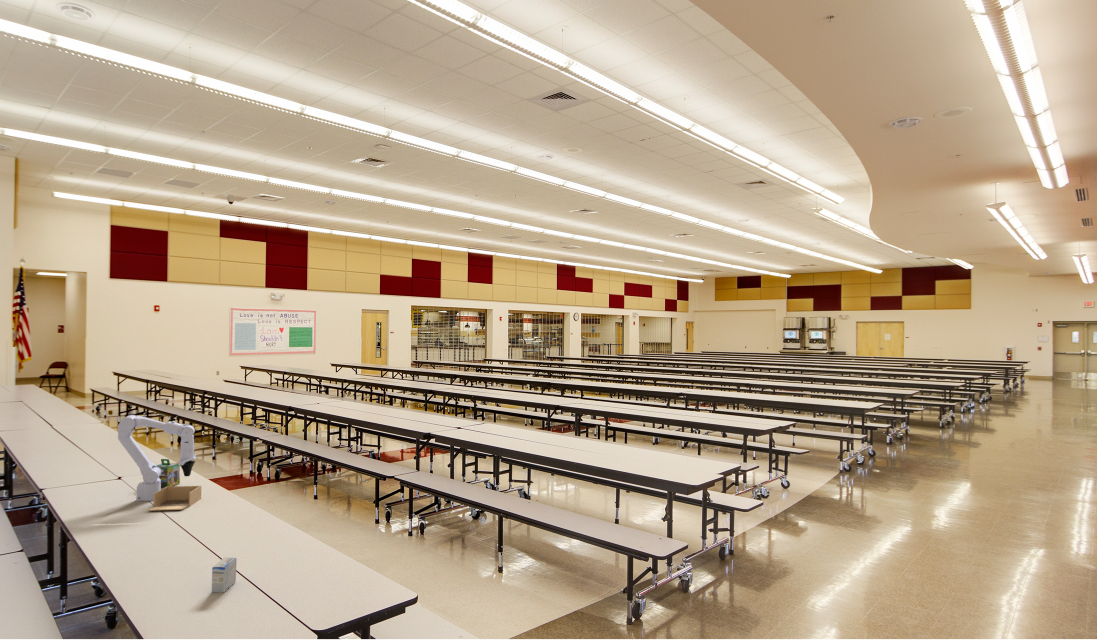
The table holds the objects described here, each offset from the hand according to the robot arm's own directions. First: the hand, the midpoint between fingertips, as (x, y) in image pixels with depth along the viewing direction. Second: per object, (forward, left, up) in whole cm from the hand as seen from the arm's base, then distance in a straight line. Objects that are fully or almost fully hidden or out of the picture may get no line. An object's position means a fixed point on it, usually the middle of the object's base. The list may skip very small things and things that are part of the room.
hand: (187, 475), depth 286 cm
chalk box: (-19, +21, -11) cm, 30 cm away
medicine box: (+58, -107, -11) cm, 122 cm away
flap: (+2, -19, -10) cm, 21 cm away
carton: (+2, -13, -10) cm, 17 cm away
